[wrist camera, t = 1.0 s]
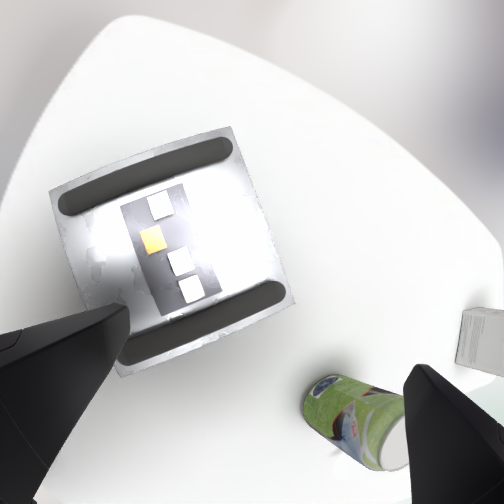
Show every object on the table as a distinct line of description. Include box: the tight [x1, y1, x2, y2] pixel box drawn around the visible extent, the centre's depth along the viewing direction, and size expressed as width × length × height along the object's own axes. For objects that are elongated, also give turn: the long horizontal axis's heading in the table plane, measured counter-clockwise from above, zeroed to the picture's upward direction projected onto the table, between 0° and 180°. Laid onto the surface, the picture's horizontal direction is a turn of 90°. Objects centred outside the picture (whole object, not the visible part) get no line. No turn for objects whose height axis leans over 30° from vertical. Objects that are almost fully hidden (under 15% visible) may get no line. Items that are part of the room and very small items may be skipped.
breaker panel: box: [49, 126, 295, 378], centre depth 19 cm, size 14×14×4 cm
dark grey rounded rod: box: [117, 281, 286, 366], centre depth 19 cm, size 13×2×2 cm, turn 111°
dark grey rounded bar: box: [58, 137, 233, 216], centre depth 18 cm, size 13×2×2 cm, turn 111°
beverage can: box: [303, 375, 409, 472], centre depth 20 cm, size 6×7×12 cm
